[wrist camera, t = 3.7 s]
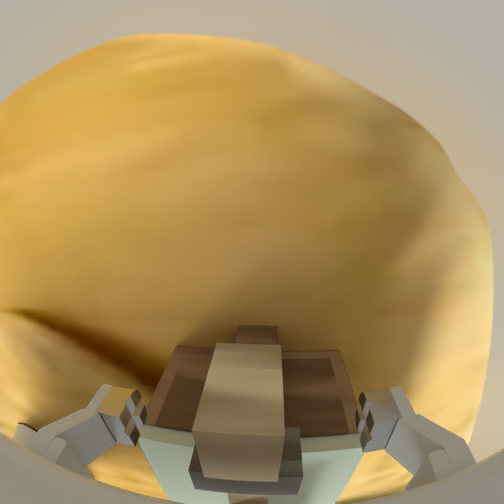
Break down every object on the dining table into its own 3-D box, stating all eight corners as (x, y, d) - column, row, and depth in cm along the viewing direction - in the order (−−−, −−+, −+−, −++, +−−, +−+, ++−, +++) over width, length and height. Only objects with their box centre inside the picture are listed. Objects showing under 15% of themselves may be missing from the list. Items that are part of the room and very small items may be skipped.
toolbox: (309, 467, 28) (315, 553, 16) (200, 463, 29) (182, 547, 16) (343, 326, 22) (396, 462, 9) (172, 321, 23) (101, 448, 10)
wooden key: (268, 488, 14) (266, 541, 10) (231, 486, 15) (224, 538, 10) (280, 344, 11) (284, 435, 6) (216, 342, 11) (191, 429, 7)
